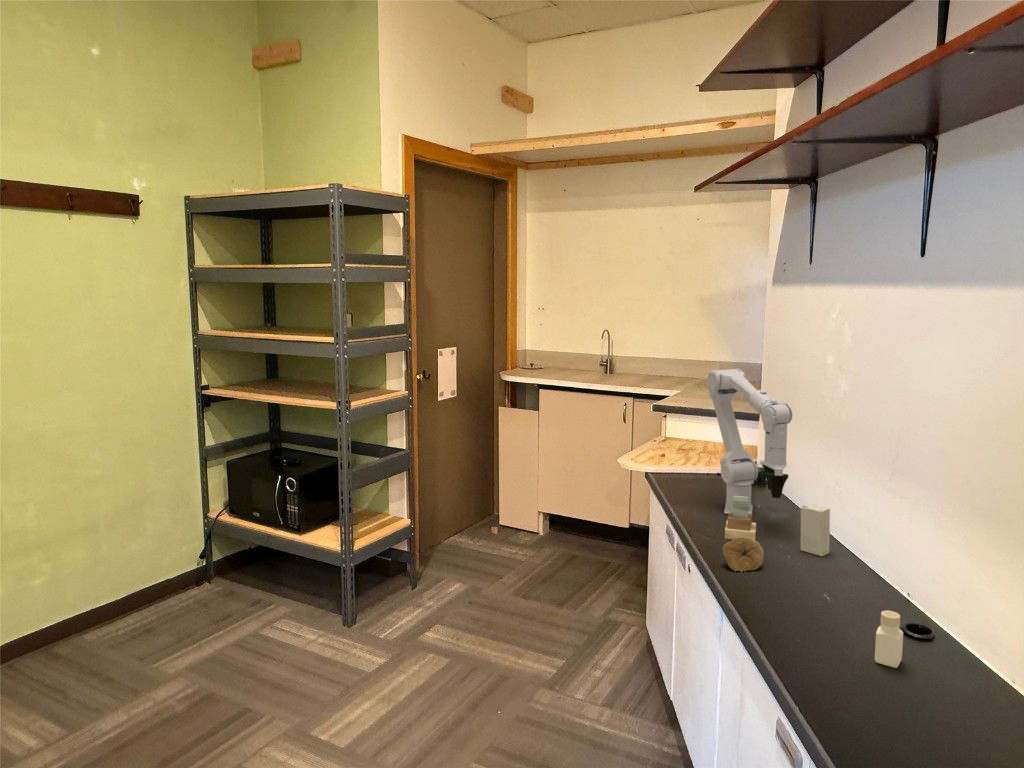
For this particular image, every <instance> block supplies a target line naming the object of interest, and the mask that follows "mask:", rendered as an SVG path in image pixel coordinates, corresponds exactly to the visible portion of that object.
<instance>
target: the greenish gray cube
mask: <svg viewBox="0 0 1024 768" xmlns="http://www.w3.org/2000/svg"><path fill="white" fill-rule="evenodd" d="M733 517H734V518H746V519H748V497H745V496H733Z"/></svg>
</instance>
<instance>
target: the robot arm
mask: <svg viewBox="0 0 1024 768" xmlns="http://www.w3.org/2000/svg"><path fill="white" fill-rule="evenodd" d="M706 386H707V389H708V393H709V397H710V399H711V400H712V403H713V408H714V411H715V415H716V419H717V424H718V427H719V431H720V435H721V439H722V442H723V446H724V451H725V454H724V455H723V456H722V458H721V459H720V461H719V464H720V476H721V479H722V480H723V482H724V483H725V484H726V493H725V495H726V497H725V498H726V499H725V500H726V501H725V505H724V506H725V507H724V510H723V514H727V515H729V512H730V511H731V512H733V496H745V497H748V513H752V514H753V504H752V484H755V483H754V482H755V480H756V479H757V478H758V476H759V469H758V466H757V464H756V462H755V461H754V457H753V455H752V454H751V453H749V452H748V451H746V450H744V446H743V443H742V439H741V435H740V431H739V428H738V424H737V419H736V415H735V412H734V408H733V404H732V400H733V398H735V397H736V396H737V394H741V395H742V396H744V397H745V398H746V399H748V405H749V406H750V407H751V408H752V409H753V410H755V411H756V412H757V413H758V414H759V415H760V418H761V421H762V425H763V428H762V429H763V431H764V460H760V461H759V464H760V465H761V467H762V468H763V471H764V473H765V478H766V484H767V488H768V490H769V491H770V494H771V497H772V499H781V497H782V493H783V491H784V490H783V489H784V487H785V484H786V481H787V480H788V479H789V474H788V473H784V469H785V468H786V467H787V465H788V463H787V448H788V447H787V444H788V443H787V441H788V424H790V423H791V421H792V420H793V410H792V408H791V407H790V405H788V403H786V402H785V403H784V402H782V403H781V402H778V401H777V400H776V399H775V398H773V397H772V396H771V395H770V394H768V391H766V390H764V389H759V390H758V389H756V387H755V386H754V385H753V384H752V383H750V381H749V380H748V379H746V374H745V372H744V371H742V370H741V368H738V367H736V368H733V369H730V368H729V369H720V370H716V369H713V370H711V371H710V372H709V373H708V376H707V379H706Z"/></svg>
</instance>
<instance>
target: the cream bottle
mask: <svg viewBox="0 0 1024 768" xmlns="http://www.w3.org/2000/svg"><path fill="white" fill-rule="evenodd" d="M880 614H881V615H880V625H879V626H878V628H877V630H876V632H875V646H874V648H875V649H874V661H875V662H876V664H880V665H884V666H887V667H890V668H893V669H897V668H898V667H899V665H900V664H901V661H902V659H903V646H904V632H903V630H901V629H900V626H901V614H899V612H896V611H892V610H882V611H881V612H880Z"/></svg>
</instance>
